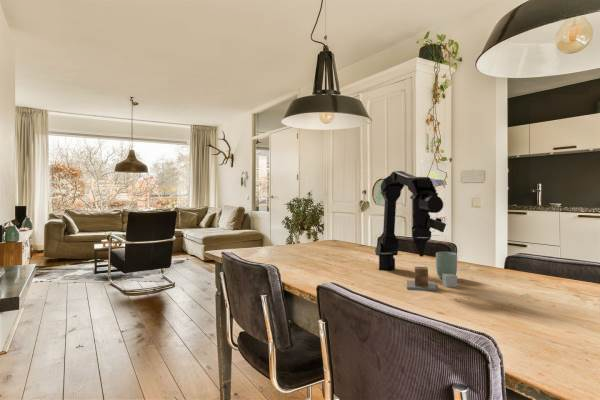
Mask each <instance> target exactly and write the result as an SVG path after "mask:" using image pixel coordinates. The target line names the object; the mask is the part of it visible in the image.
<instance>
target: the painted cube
mask: <svg viewBox="0 0 600 400" xmlns="http://www.w3.org/2000/svg"><path fill="white" fill-rule="evenodd" d="M441 285H442V286H444V287H445V288H457V287H458V275H457V274H456V275H454V274H442V278H441Z"/></svg>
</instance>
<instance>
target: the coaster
mask: <svg viewBox="0 0 600 400" xmlns="http://www.w3.org/2000/svg"><path fill="white" fill-rule="evenodd" d="M406 289H407V290H412V291H430V292H437V290H438V288H437V285H436V281H429V280H428V286H415V280H406Z"/></svg>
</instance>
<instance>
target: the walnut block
mask: <svg viewBox="0 0 600 400" xmlns="http://www.w3.org/2000/svg"><path fill="white" fill-rule="evenodd" d="M414 281H415V286H428V281H429V269H428V266H414Z"/></svg>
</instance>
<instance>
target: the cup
mask: <svg viewBox="0 0 600 400" xmlns="http://www.w3.org/2000/svg"><path fill="white" fill-rule="evenodd" d="M435 268H436V274H437V277H438V278H440V279H442V274H454V275H456V276H457V272H458V253H456V252H452V251H437V252H435Z"/></svg>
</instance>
